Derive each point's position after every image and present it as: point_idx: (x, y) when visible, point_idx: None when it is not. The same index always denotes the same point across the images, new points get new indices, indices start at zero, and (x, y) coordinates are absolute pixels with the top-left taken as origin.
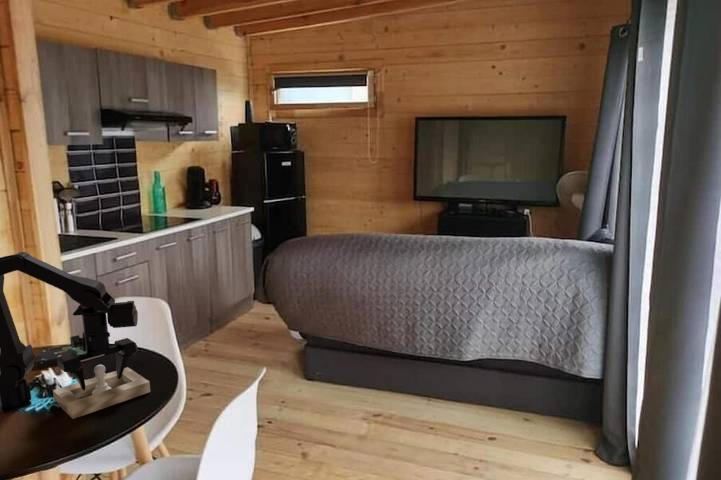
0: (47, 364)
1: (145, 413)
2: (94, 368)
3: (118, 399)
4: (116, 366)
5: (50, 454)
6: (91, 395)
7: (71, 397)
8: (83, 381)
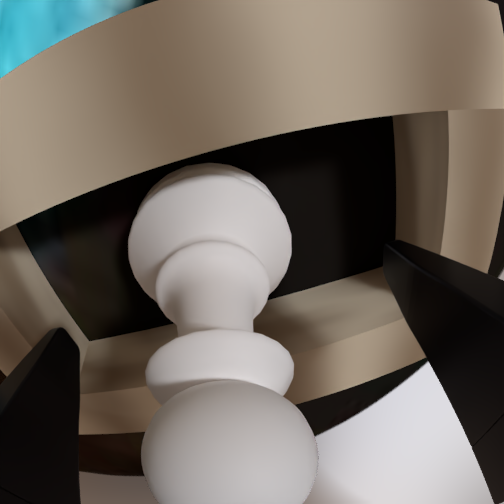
0: None
1: (332, 423)
2: (155, 498)
3: None
4: (472, 306)
5: (89, 466)
6: (140, 390)
7: (21, 358)
8: (71, 451)
